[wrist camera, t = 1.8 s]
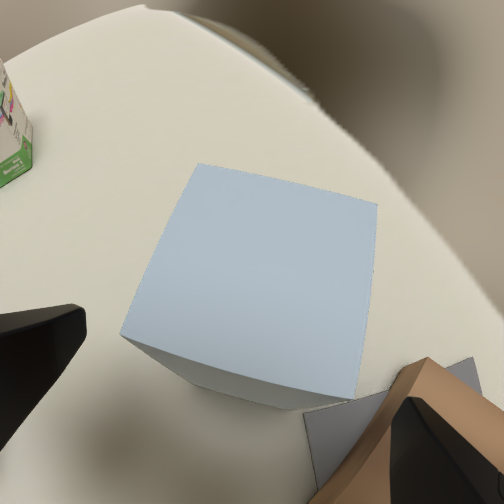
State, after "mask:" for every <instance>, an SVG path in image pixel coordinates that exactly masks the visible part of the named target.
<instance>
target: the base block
mask: <svg viewBox="0 0 504 504" xmlns="http://www.w3.org/2000/svg"><path fill="white" fill-rule="evenodd" d="M407 396H415V397H420V398H422V399H423V400H424V401H425V402H426V403H427V404H429V405H430V406H431V407H432V408H433V409H434V410H435V411H436V412H437V413H438V414H439V415H440V416H441V417H443V418H444V419H445V420H446V421H447V422H448V423H449V424H450V425H451V426H452V427H453V428H454V429H455V430H457V431H458V432H459V433H460V434H461V435H462V436H463V437H464V438H465V439H466V440H467V441H468V442H469V443H470V444H472V445H473V446H474V447H475V448H476V449H477V450H478V451H479V452H480V453H481V454H482V455H483V456H484V457H485V458H487V459H488V460H489V461H490V462H491V463H492V464H493V465H494V466H495V467H496V468H497V469H498V470H499V471H500V472H502V473H503V474H504V411H502V410H501V409H500V408H498V407H497V406H495V405H494V404H493V403H491V402H490V401H489V400H487V399H486V398H485V397H483V396H482V395H480V394H479V393H478V392H476V391H475V390H473V389H472V388H471V387H469V386H468V385H467V384H465V383H464V382H462V381H461V380H460V379H458V378H457V377H455V376H454V375H453V374H451V373H450V372H448V371H447V370H446V369H444V368H443V367H442V366H440V365H439V364H437V363H436V362H434V361H433V360H432V359H430V358H429V357H426V358H424V359H422V360H419V361H417V362H415V363H412V364H410V365H407V366H405V367H403V368H402V370H401V372H400V374H399V375H398V377H397V379H396V381H395V382H394V384H393V386H392V388H391V389H390V391H389V393H388V394H387V396H386V398H385V399H384V401H383V403H382V404H381V406H380V407H379V409H378V411H377V412H376V414H375V415H374V417H373V418H372V420H371V421H370V423H369V424H368V426H367V427H366V429H365V430H364V432H363V433H362V435H361V436H360V438H359V439H358V441H357V442H356V443H355V445H354V446H353V448H352V449H351V450H350V452H349V453H348V454H347V456H346V457H345V458H344V460H343V461H342V462H341V464H340V465H339V466H338V468H337V469H336V470H335V472H334V473H333V474H332V475H331V477H330V478H329V479H328V480H327V482H326V483H325V484H324V485H323V486H322V488H321V489H320V490H319V491H318V492H317V494H316V495H315V496H314V497H313V498H312V499H311V500H310V502H309V503H308V504H390V479H389V463H390V439H391V421H392V419H393V416H394V415H395V413H396V412H397V410H398V408H399V407H400V405H401V403H402V402H403V400H404V399H405V398H406V397H407ZM499 471H498V472H499Z"/></svg>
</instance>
